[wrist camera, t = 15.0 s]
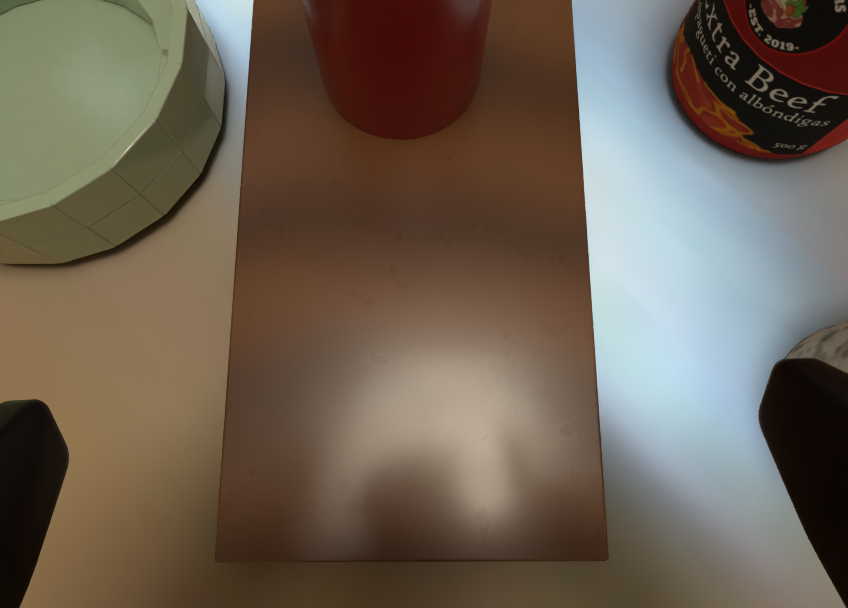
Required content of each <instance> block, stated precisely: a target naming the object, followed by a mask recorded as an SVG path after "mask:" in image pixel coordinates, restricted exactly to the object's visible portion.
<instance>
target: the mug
mask: <svg viewBox="0 0 848 608" xmlns="http://www.w3.org/2000/svg"><path fill="white" fill-rule="evenodd" d="M789 358H816V359H819V360H821V361H823V362H825V363H827V364H829V365H832V366H834V367H836V368H838V369H840V370H842V371H844V372H846V373H848V322H846V323H842V324H839V325H835V326H832V327H828V328H825V329H822V330H820V331H818V332H816V333H814V334H812V335H810V336H808V337H806V338H805V339H804V340H803V341H802V342H800V343H799V344H798V345H797V346H796V347H795V348H794V349H793V350H792V351H791V352H790V353H789V354H788V356H787V357H786V359H789Z"/></svg>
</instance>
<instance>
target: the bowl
mask: <svg viewBox="0 0 848 608" xmlns="http://www.w3.org/2000/svg"><path fill="white" fill-rule="evenodd" d="M224 88H225V79H224V73H223V69H222V66H221V62H220V59H219V55H218V52H217V48H216V45H215V41H214V38H213V35H212V33H211V31H210V29H209V27H208V25H207V23H206V21H205V19H204V17H203V15H202V13H201V11H200V10H199V8H198V6H197V4H196V2H195V0H0V263H1V264H2V263H4V264H58V263H65V262H68V261H71V260H74V259H78V258H81V257H84V256H88V255H91V254H94V253H98V252H101V251H104V250H108V249H111V248H114V247H115V246H117V245H119V244H121V243H123V242H124V241H126V240H127V239H129V238H130V237H132V236H133V235H135V234H137V233H138V232H140V231H141V230H143V229H144V228H146V227H147V226H149V225H151V224H152V223H154V222H155V221H157V220H158V219H160V218H161V217H163V215H166V214H167V213H168V211H169V210H170V209H171V208H172V207H173V206H174V204H175V203H176V202H177V201H178V200H179V199H180V198H181V196H182V195H183V194H184V193H185V192H186V191H187V190H188V188H189V187H190V186H191V185H192V184H193V183H194V181H195V180H196V179H197V178H198V177H199V176H200V173H202V170H203V168H204V166H205V163H206V161H207V159H208V157H209V154H210V152H211V150H212V147H213V145H214V143H215V141H216V138H217V136H218V134H219V131H220V129H221V125H222V114H223V101H224Z"/></svg>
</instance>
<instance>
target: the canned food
mask: <svg viewBox="0 0 848 608" xmlns="http://www.w3.org/2000/svg"><path fill="white" fill-rule="evenodd" d="M671 69H672V79H673V86H674V89H675V92H676V95H677V98H678V101H679V102H680V104H681V106H682V107H683V109H684V111H685V113H686V114H687V116H688V117H689V118H690V119H691V120H692V121H693V123H694V124H695V125H696V126H697V127H698V128H699V129H700V130H701V131H702V132H704V133H705V134H706V135H708V136H709V137H710V138H711V139H713V140H714V141H716V142H718V143H720V144H721V145H723V146H725V147H727V148H729V149H731V150H734V151H737V152H740V153H743V154H746V155H749V156H754V157H760V158H767V159H786V158H793V157H798V156H803V155H808V154H811V153H814V152H818V151H821V150H824V149H827V148H829V147H832V146H834V145H836V144H839V143H841V142H843V141H844V140H846V139H847V138H848V0H695V1H694V3H693V5H692V6H691V8H690V10H689V11H688V13H687V15H686V16H685V18H684V20H683V21H682V23H681V26H680V28H679V31H678V34H677V36H676V40H675V46H674V53H673V60H672V68H671Z"/></svg>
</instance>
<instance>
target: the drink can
mask: <svg viewBox="0 0 848 608" xmlns="http://www.w3.org/2000/svg"><path fill="white" fill-rule="evenodd" d="M301 4H302V7H303V11H304V15H305V18H306V22H307V26H308V29H309V33H310V37H311V40H312V44H313V48H314V51H315V55H316V58H317V62H318V66H319V69H320V73H321V77H322V80H323V84H324V87H325V90H326V93H327V95H328V97H329V99H330V101H331V103H332V104H333V106H334V107H335V108H336V110H337V111H338V112H339V113H340V114H341V115H342V116H343V117H344V118H345V119H346V120H347V121H349V122H350V123H351V124H352V125H354V126H356V127H357V128H359V129H361V130H363V131H365V132H367V133H370V134H372V135H376V136H379V137H384V138H390V139H413V138H418V137H423V136H426V135H429V134H432V133H435V132H437V131H439V130H441V129H443V128H445V127H446V126H448V125H449V124H451V123H452V122H453V121H455V120H456V119H457V118H458V117H459V116H460V115H461V114H462V113H463V112H464V111H465V110H466V109H467V107H468V106H469V104H470V103H471V102H472V100H473V98H474V96H475V94H476V91H477V88H478V85H479V81H480V75H481V69H482V63H483V56H484V50H485V44H486V37H487V31H488V24H489V18H490V12H491V5H492V0H301Z"/></svg>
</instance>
